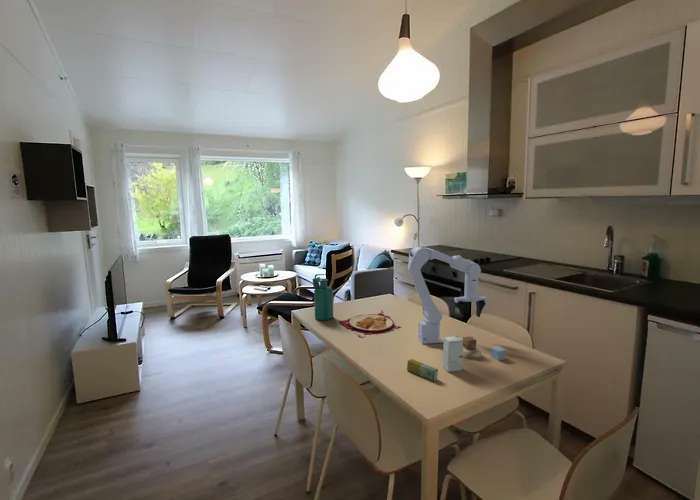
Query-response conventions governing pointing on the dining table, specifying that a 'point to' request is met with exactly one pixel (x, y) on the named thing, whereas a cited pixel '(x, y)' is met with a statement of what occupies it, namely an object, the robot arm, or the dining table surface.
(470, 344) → the walnut block
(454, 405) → the dining table surface
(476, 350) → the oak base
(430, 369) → the medication box
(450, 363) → the skincare box
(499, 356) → the slate block
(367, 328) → the plate with food
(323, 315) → the green tall canister
